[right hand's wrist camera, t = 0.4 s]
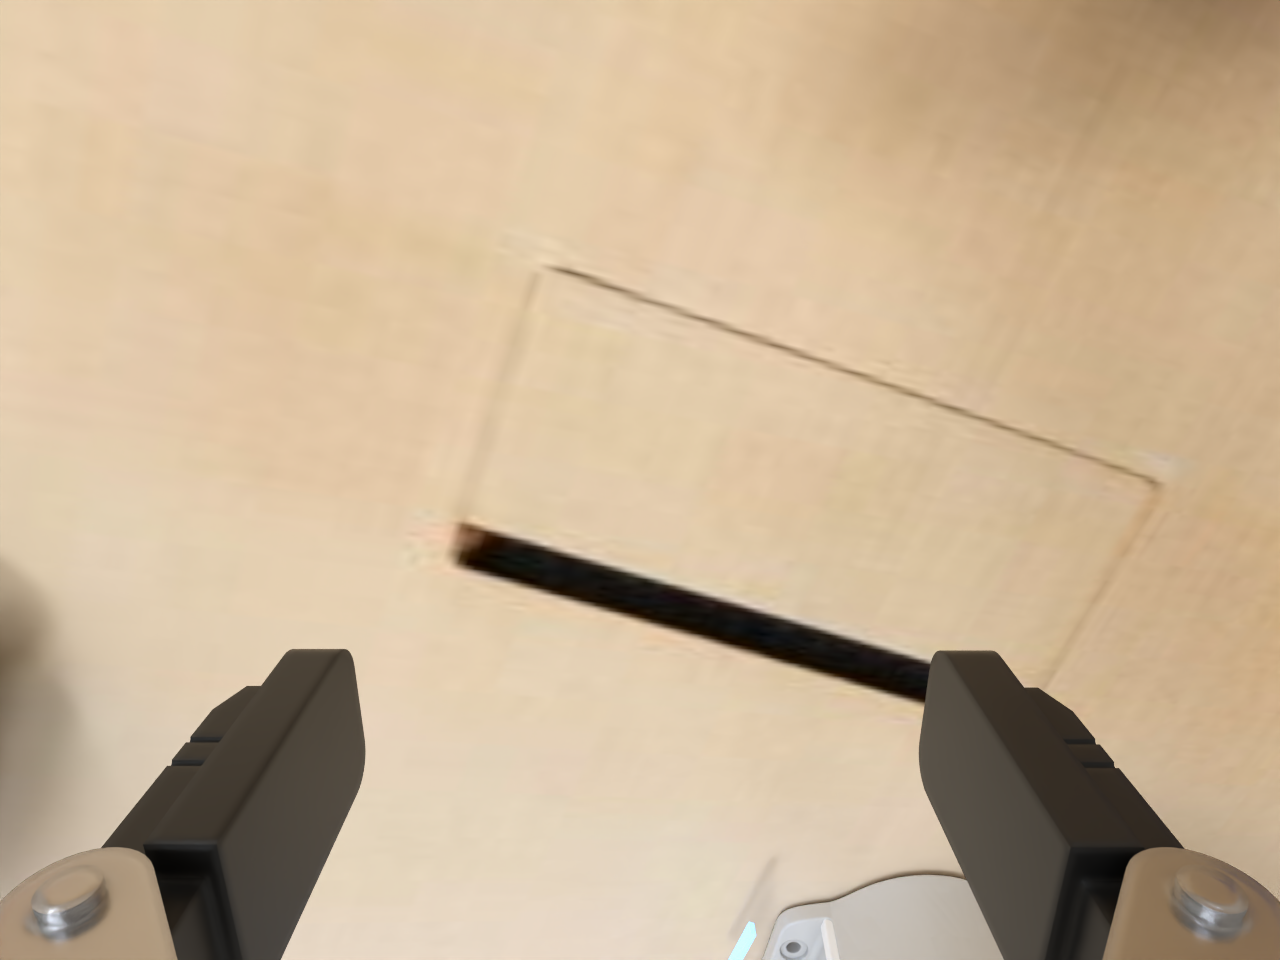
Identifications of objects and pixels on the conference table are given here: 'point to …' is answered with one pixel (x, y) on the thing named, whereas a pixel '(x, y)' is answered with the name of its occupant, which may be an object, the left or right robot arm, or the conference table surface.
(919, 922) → the left robot arm
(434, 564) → the conference table surface
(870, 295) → the conference table surface
